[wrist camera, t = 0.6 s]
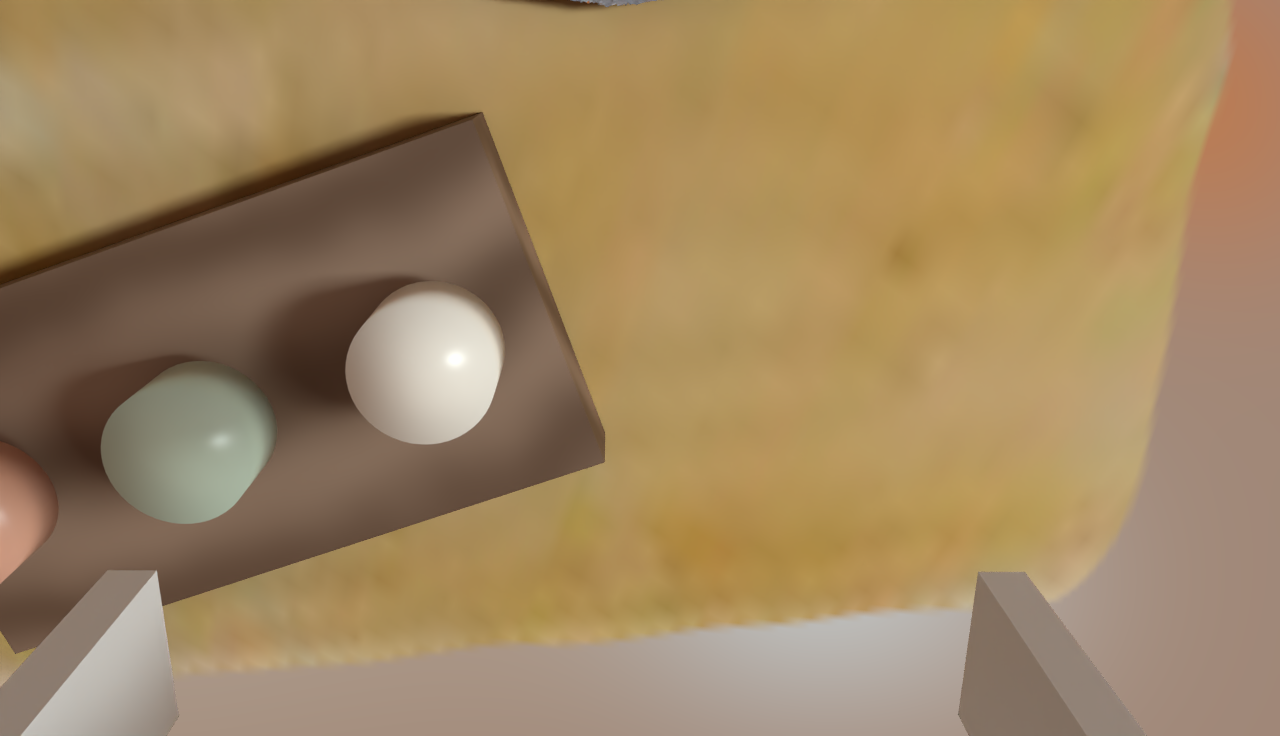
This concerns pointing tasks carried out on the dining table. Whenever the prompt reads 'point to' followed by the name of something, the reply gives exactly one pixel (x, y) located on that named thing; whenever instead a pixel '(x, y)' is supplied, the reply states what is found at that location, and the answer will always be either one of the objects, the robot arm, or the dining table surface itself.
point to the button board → (284, 369)
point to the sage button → (189, 442)
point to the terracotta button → (23, 508)
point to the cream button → (426, 363)
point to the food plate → (614, 2)
